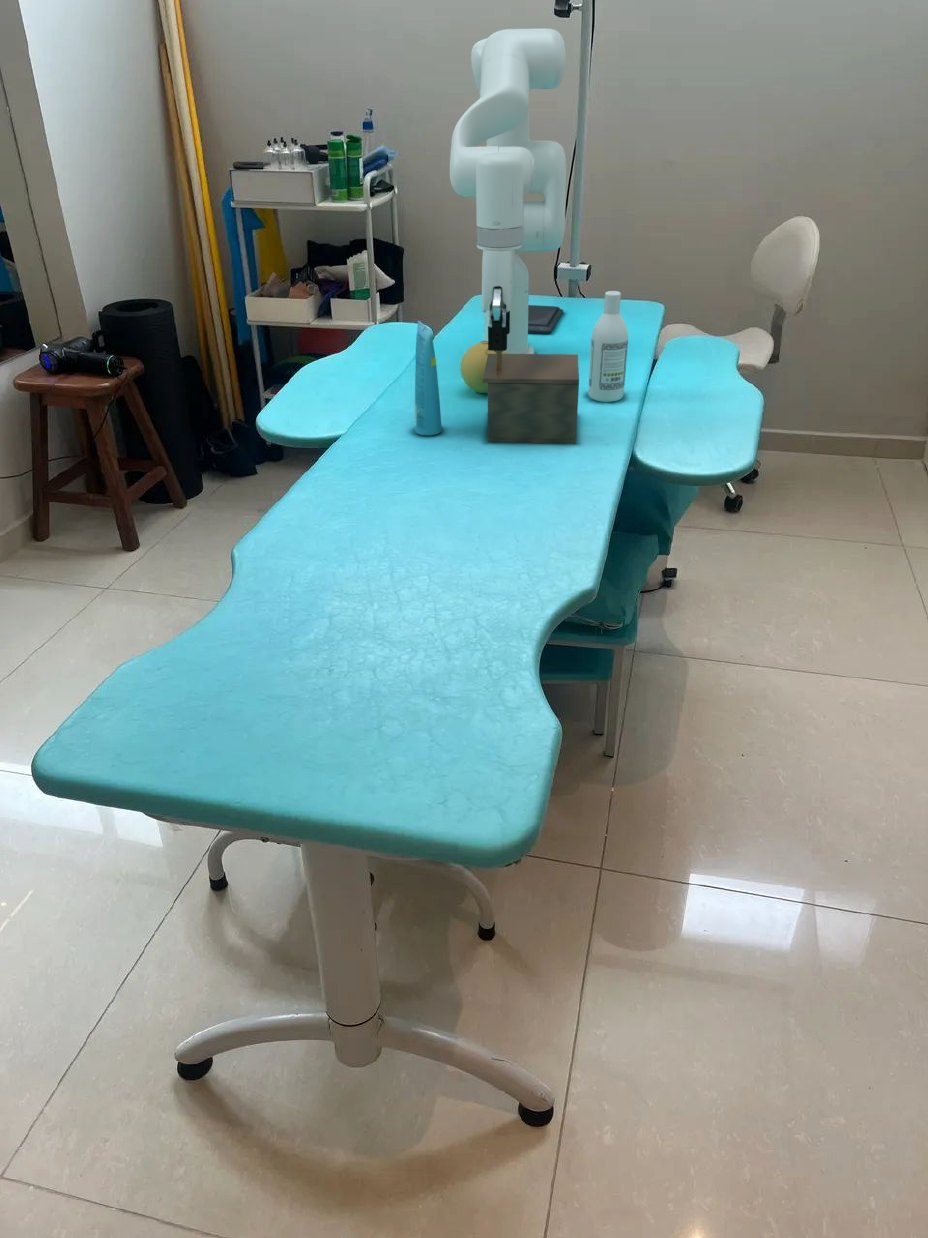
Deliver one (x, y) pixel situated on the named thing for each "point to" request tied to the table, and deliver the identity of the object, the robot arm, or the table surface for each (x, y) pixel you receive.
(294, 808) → the table surface
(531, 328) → the wallet
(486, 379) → the lid
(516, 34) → the robot arm
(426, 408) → the tube
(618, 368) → the bath foam
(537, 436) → the chest
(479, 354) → the stress ball
